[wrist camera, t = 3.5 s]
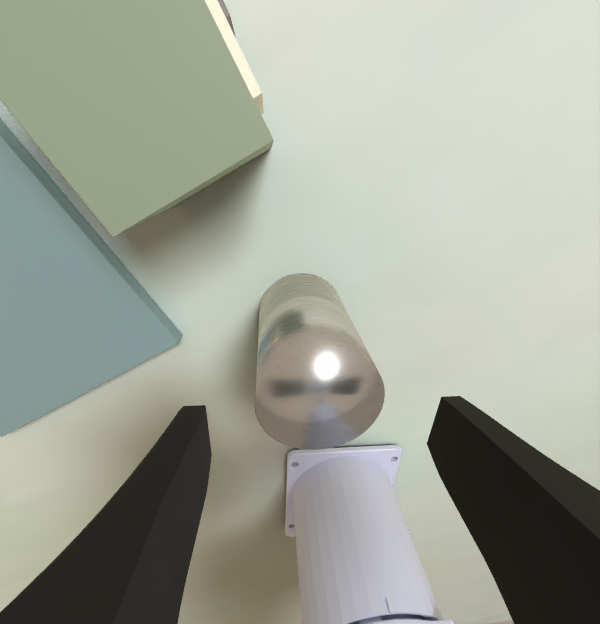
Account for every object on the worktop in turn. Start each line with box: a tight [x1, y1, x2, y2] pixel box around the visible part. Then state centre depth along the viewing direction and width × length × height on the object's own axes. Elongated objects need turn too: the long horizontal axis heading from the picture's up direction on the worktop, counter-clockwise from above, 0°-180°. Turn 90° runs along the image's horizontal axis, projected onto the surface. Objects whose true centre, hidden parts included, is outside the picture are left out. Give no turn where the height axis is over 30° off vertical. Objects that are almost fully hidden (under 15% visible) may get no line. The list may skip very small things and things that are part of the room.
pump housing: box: [0, 0, 273, 237], centre depth 9 cm, size 5×7×6 cm
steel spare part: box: [255, 274, 385, 450], centre depth 14 cm, size 4×4×7 cm
